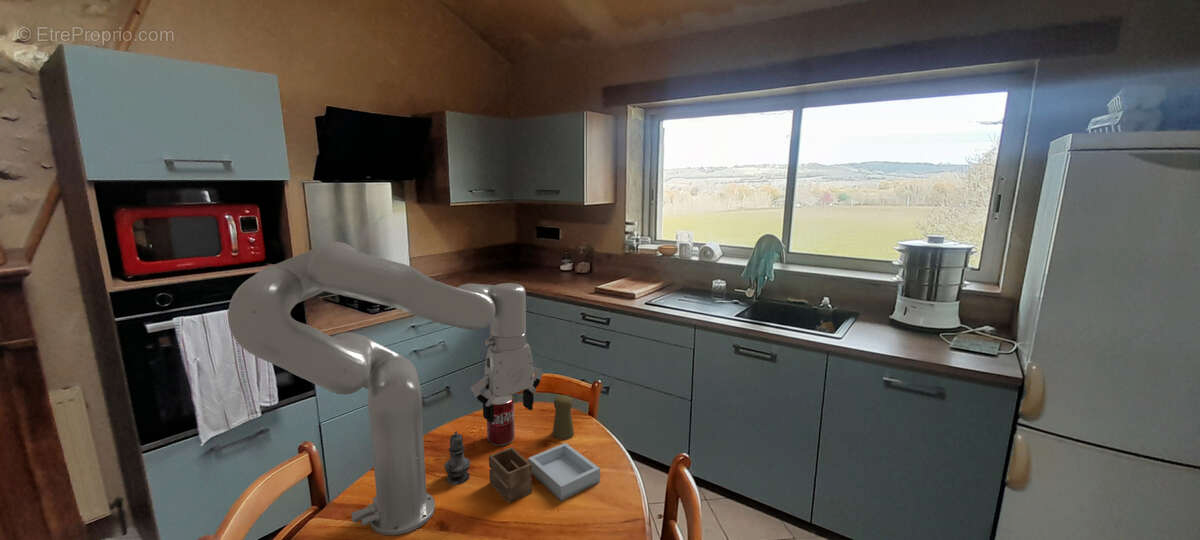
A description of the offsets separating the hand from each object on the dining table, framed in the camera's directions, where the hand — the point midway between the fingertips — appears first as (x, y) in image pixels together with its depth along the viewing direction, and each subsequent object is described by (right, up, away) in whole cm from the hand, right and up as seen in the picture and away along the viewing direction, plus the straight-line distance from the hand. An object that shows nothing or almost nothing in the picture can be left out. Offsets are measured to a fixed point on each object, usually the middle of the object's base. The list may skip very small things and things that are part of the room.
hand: (509, 414), depth 105 cm
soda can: (-7, -14, +23) cm, 28 cm away
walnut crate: (0, -18, +3) cm, 18 cm away
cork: (+10, -14, +27) cm, 32 cm away
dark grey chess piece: (-13, -17, +7) cm, 23 cm away
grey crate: (+12, -17, +8) cm, 22 cm away
